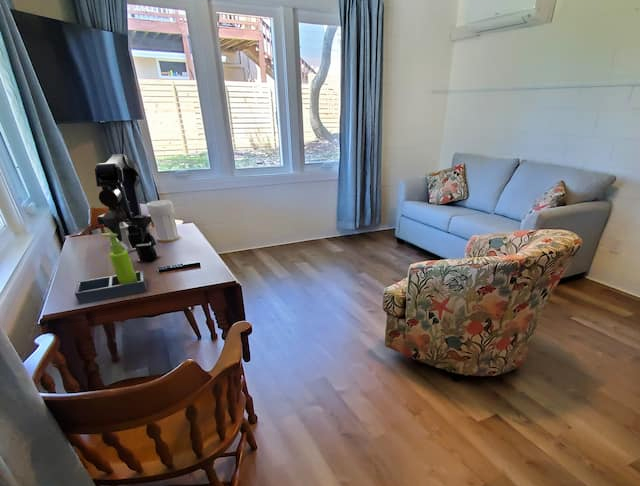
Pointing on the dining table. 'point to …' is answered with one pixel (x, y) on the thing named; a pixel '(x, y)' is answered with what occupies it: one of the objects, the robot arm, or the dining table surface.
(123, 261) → the soap dispenser
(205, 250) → the dining table surface
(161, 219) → the white upright cylinder
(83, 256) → the dining table surface
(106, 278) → the divided storage box
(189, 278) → the dining table surface
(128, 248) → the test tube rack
